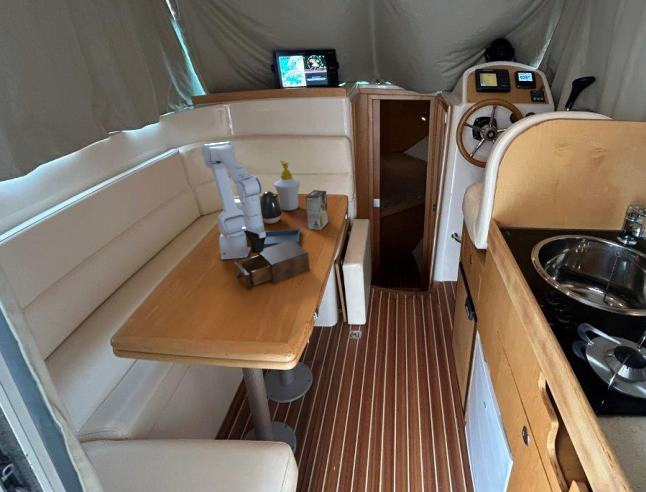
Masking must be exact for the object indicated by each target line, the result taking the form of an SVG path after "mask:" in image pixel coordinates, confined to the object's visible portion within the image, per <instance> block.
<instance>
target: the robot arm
mask: <svg viewBox="0 0 646 492" xmlns="http://www.w3.org/2000/svg"><path fill="white" fill-rule="evenodd" d="M235 155H236V149H235V145H234V144H233V143H232V142H231V141H229V140H228V141H222V142H216V143H215V142H214V143H208V144H207V143H204V144H202V145H201V156H202V158H203V162H204V165H205V167H206V168H208V169H211V172H212V174H213V178H214V181H215V185H216V188H217V192H218V195H219V200H220V203H221V206H222V211H221V213H219V215H218V216H217V226H218V230H219V233H220V235H219V238H218V244H219V245H218V246H219V250H220V256H221V257H220V259H221V260H232V259H247V258H249V257H248V256H249V254H250V252H251V246H248V243H250V238H251V239H252V241H253V243H254V246H255V250H256V252H257V253H256V254H258V252H261V251H263V249H264V242H265V239H266V237H267V232H265V231H266V230H265V223H264V222H263V221H262V213H261V205H260V200H261V198H260V195H261V194H262V190H263V189H262V187H263V186H262V183H261V181H260V179H259V178H258V177H257V176H254V175H251V174H250V172H249V171H248V170H247V168H246V167H245V166H244V165H243V164H239V162H238V161H237V159H236V156H235ZM229 177H230V178H229ZM230 179H231V180H232V182H233V183H234V185H235V188H236V192H237V194H238V196H239V199H240V201H241V202H242V209H243V210H240V209H238V208H237V207H236V203H235V199H234V197H235V196H234V192H233V188H232V184H231V181H230ZM237 215H239V216H237ZM233 216H236V217H233ZM230 217H233V218H230ZM247 239H248V242H247Z"/></svg>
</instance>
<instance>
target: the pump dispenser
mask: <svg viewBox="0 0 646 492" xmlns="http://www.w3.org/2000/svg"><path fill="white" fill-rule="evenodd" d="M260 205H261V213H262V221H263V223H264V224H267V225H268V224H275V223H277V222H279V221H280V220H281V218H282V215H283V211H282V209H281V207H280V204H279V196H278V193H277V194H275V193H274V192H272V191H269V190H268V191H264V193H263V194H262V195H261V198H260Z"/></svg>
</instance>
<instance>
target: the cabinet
mask: <svg viewBox="0 0 646 492" xmlns="http://www.w3.org/2000/svg"><path fill="white" fill-rule="evenodd" d="M263 249H264V250H263V251H262V252H260V253H257V255H261V256H262V257H263V258H264V259H265V260H266V261H267V262H268V263H269V264H270V265H271V270H272V278H273V279H271V280H270V281H271V282H272V283H273V284H274V285H275V284H277V283H280V282H282V281H285V280H288V279H291V278H293V277H296V276H298V275H301V274H303V273H306V272H308V271H310V260H309V259H310V258H309V251H307V250H306V249H305V248H304V247H303V246H301V245H300V244H299V245H298V244H297V243H296V242H294V241H293V240H290V241H287V242H283V243H280V244H277V245H274V246H271V247H267V248H263Z"/></svg>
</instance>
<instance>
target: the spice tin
mask: <svg viewBox="0 0 646 492" xmlns="http://www.w3.org/2000/svg"><path fill="white" fill-rule="evenodd" d="M249 244H250V247H251V249H250V252H251V254H258V253H260V252H258V253H257V252H256V250H255V246H254V243H253V241H252V239H251V238H250V242H249ZM263 250H264V248H263ZM261 252H262V251H261Z"/></svg>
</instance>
